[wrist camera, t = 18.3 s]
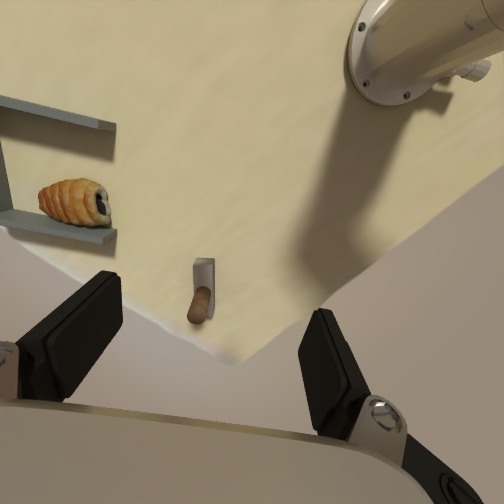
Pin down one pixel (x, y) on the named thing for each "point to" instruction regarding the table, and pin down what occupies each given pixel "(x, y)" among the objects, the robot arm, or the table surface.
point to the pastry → (76, 202)
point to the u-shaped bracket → (5, 215)
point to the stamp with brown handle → (203, 291)
